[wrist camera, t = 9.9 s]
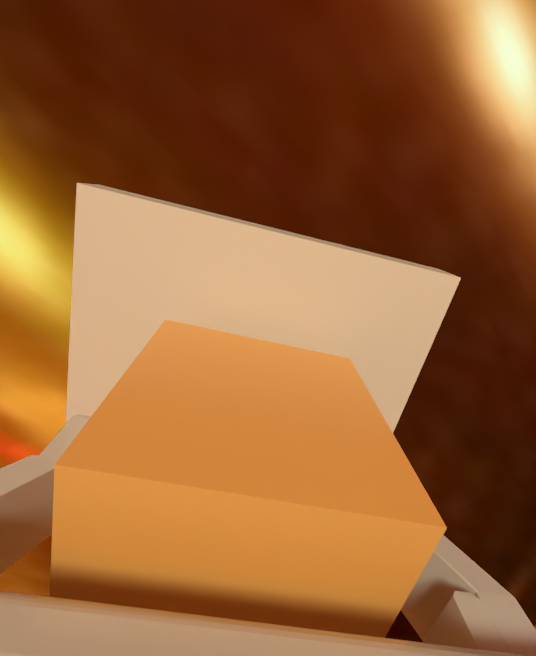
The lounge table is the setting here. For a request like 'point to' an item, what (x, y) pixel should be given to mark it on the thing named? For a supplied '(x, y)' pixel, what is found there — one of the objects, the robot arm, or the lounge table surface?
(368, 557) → the solid orange cube
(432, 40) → the lounge table surface
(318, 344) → the pin plate
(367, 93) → the lounge table surface
